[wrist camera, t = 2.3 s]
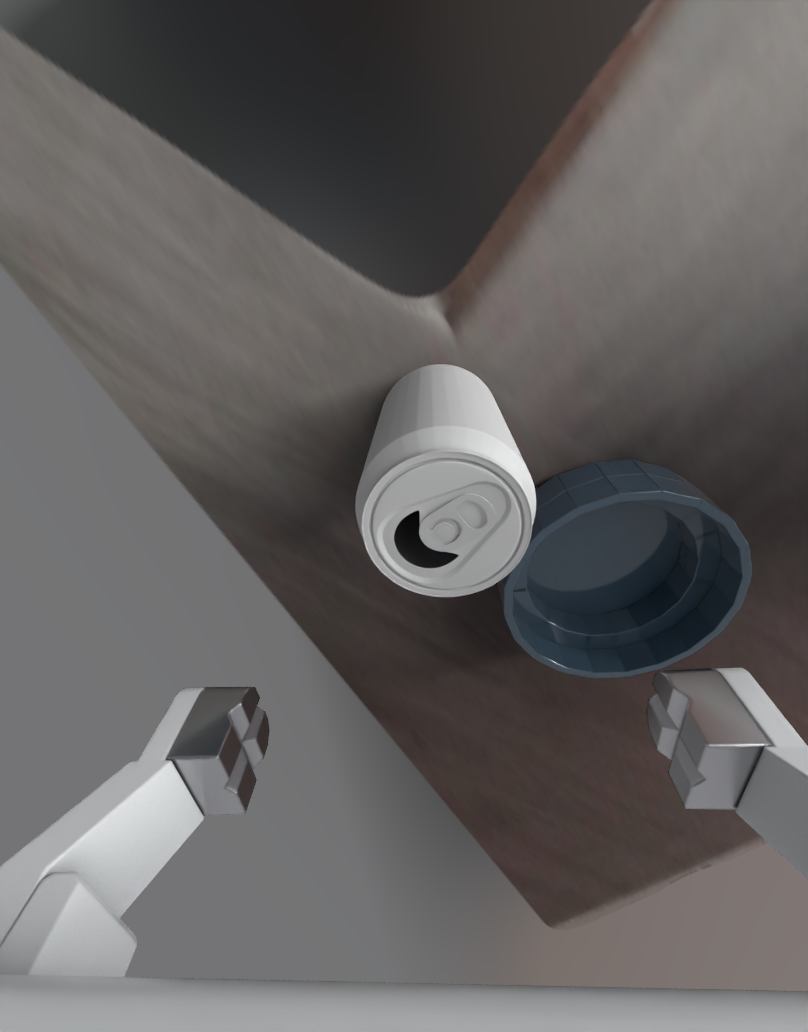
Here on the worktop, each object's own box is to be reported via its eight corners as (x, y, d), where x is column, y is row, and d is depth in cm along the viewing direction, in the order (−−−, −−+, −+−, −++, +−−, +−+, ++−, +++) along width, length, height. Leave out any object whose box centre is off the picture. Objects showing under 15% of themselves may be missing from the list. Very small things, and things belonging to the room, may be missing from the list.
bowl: (729, 447, 25) (784, 482, 21) (683, 623, 32) (719, 674, 28) (493, 465, 27) (504, 501, 23) (494, 631, 33) (503, 681, 29)
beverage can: (358, 410, 25) (308, 518, 15) (451, 333, 23) (469, 396, 13) (428, 492, 28) (427, 634, 17) (519, 428, 25) (582, 548, 15)
